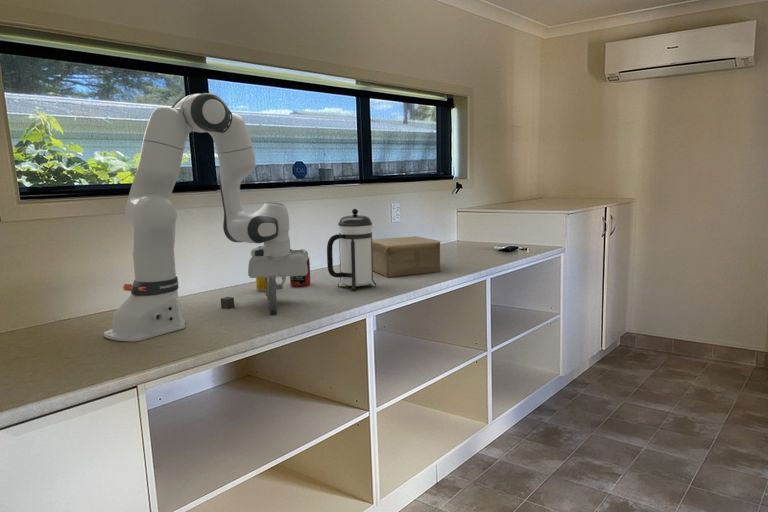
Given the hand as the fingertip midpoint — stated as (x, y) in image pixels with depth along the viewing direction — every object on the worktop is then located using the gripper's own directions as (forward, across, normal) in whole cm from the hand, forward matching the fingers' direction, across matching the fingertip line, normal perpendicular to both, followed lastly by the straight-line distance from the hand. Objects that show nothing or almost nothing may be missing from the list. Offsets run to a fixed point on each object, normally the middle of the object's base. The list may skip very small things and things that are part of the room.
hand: (279, 289), depth 187 cm
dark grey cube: (+4, +17, +5) cm, 18 cm away
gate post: (+4, +2, +18) cm, 18 cm away
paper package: (+4, -52, -45) cm, 69 cm away
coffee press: (+4, -28, -15) cm, 32 cm away
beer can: (+4, +6, -18) cm, 20 cm away
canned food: (+4, -7, -24) cm, 25 cm away
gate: (+3, +3, +5) cm, 6 cm away
